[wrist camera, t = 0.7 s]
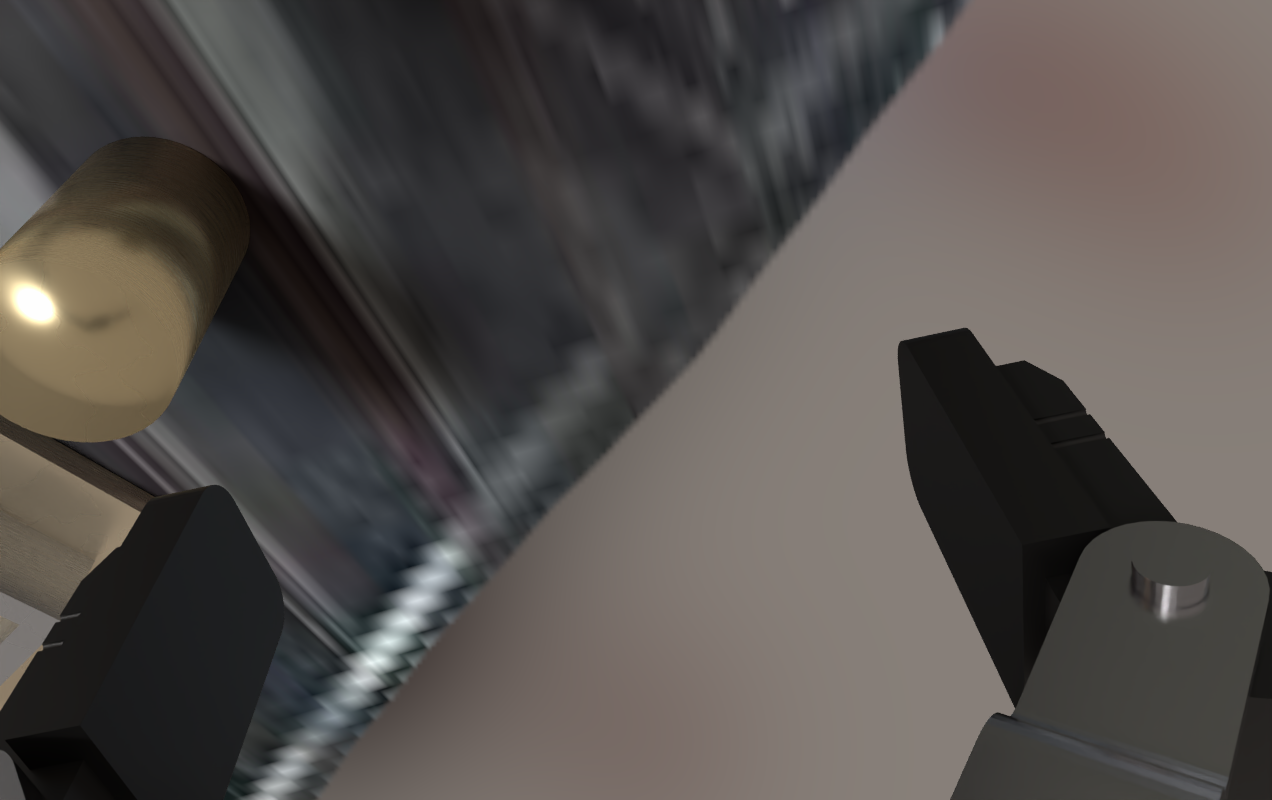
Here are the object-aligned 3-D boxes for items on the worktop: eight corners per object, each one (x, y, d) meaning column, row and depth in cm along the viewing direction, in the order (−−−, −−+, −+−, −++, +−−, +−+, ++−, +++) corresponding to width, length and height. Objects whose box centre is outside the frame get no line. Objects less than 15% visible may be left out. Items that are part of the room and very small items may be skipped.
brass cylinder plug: (39, 219, 30) (-96, 360, 23) (133, 101, 28) (17, 217, 22) (189, 319, 32) (104, 474, 26) (283, 215, 30) (219, 353, 24)
